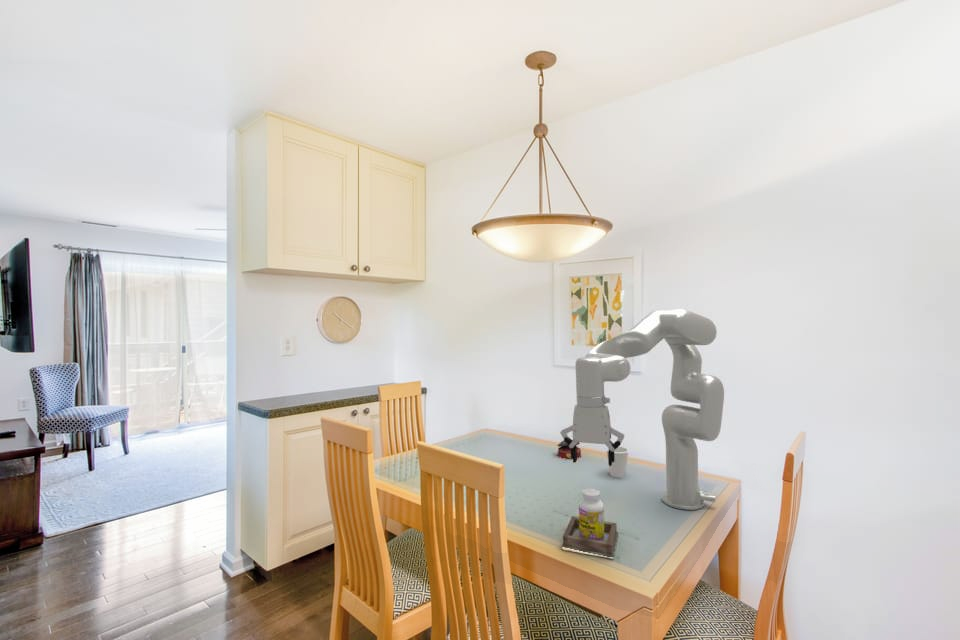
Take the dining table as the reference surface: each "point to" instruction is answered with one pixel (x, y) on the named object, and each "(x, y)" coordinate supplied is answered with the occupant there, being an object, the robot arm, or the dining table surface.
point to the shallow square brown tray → (590, 545)
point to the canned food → (567, 450)
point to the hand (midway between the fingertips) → (592, 462)
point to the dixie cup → (619, 462)
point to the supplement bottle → (591, 515)
